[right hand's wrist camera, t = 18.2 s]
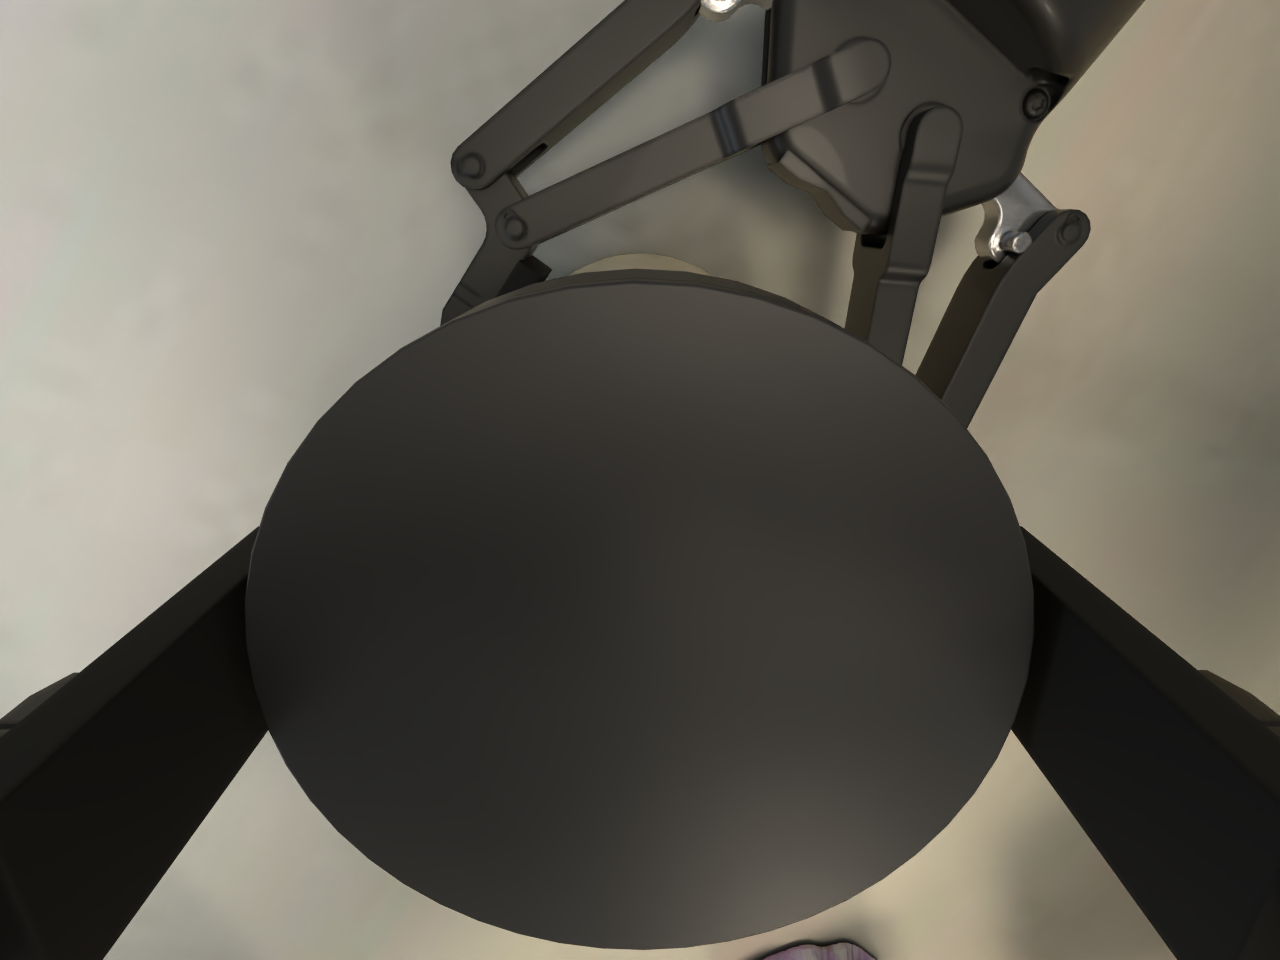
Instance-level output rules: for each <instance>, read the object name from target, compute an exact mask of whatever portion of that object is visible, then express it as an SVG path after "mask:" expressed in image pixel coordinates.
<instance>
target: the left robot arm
mask: <svg viewBox="0 0 1280 960" xmlns="http://www.w3.org/2000/svg"><path fill="white" fill-rule="evenodd" d="M1144 1H1145V0H625V1H624V2H622V3H621V4H620V5H619V6H618V7H617V8H616V9H615V10H613V11H612V12H611V13H610V14H609V15H608V16H607V17H605V18H604V19H603V20H602V21H601V22H600V23H599V24H597V25H596V26H595V27H594V28H593V29H592V30H591V31H589V32H588V33H587V34H586V35H585V36H584V37H583V38H581V39H580V40H579V41H578V42H577V43H576V44H575V45H573V46H572V47H571V48H570V49H569V50H568V51H567V52H565V53H564V54H563V55H562V56H561V57H560V58H559V59H557V60H556V61H555V62H554V63H553V64H552V65H551V66H549V67H548V68H547V69H546V70H545V71H544V72H543V73H541V74H540V75H539V76H538V77H537V78H536V79H535V80H533V81H532V82H531V83H530V84H529V85H528V86H527V87H525V88H524V89H523V90H522V91H521V92H520V93H519V94H518V95H516V96H515V97H514V98H513V99H512V100H511V101H510V102H508V103H507V104H506V105H505V106H504V107H503V108H502V109H500V110H499V111H498V112H497V113H496V114H495V115H494V116H492V117H491V118H490V119H489V120H488V121H487V122H486V123H484V124H483V125H482V126H481V127H480V128H479V129H478V130H476V131H475V132H474V133H473V134H472V135H471V136H470V137H468V138H467V139H466V140H465V141H464V142H463V143H462V144H460V145H459V146H458V147H457V149H456V150H455V151H454V153H453V155H452V159H451V169H452V173H453V175H454V177H455V179H456V181H457V182H458V183H460V184H461V185H462V186H463V187H465V188H466V190H467V191H468V192H469V194H470V195H471V197H472V198H473V199H474V201H475V202H476V204H477V205H478V207H479V208H480V209H481V211H482V213H483V215H484V217H485V220H486V225H487V232H486V238H485V240H484V242H483V244H482V246H481V247H480V249H479V251H478V252H477V254H476V256H475V257H474V259H473V261H472V262H471V264H470V266H469V267H468V269H467V271H466V272H465V274H464V275H463V277H462V279H461V280H460V283H459V284H458V285H457V287H456V289H455V290H454V292H453V294H452V295H451V297H450V299H449V300H448V302H447V303H446V305H445V307H444V308H443V311H442V318H441V325H440V326H442V325H443V324H445V323H447V322H449V321H451V320H453V319H455V318H456V317H458V316H460V315H462V314H464V313H466V312H467V311H469V310H471V309H473V308H475V307H477V306H478V305H480V304H482V303H484V302H486V301H488V300H491V299H494V298H496V297H499V296H502V295H504V294H507V293H510V292H512V291H515V290H518V289H520V288H523V287H526V286H529V285H531V284H534V283H539V282H543V281H545V280H546V278H547V277H548V275H549V273H550V272H551V270H552V269H551V268H549V267H548V266H547V265H545V264H544V263H542V262H541V261H540V260H538V259H537V258H536V257H534V256H533V255H532V254H533V253H534V251H535V249H536V248H537V246H538V245H539V244H540V243H543V242H545V241H547V240H549V239H551V238H554V237H556V236H558V235H560V234H562V233H565V232H567V231H569V230H571V229H574V228H576V227H578V226H580V225H582V224H585V223H587V222H589V221H591V220H594V219H596V218H598V217H600V216H602V215H605V214H607V213H609V212H611V211H614V210H616V209H618V208H620V207H622V206H625V205H627V204H629V203H631V202H633V201H636V200H638V199H640V198H642V197H645V196H647V195H649V194H651V193H653V192H656V191H658V190H660V189H662V188H665V187H667V186H669V185H671V184H673V183H676V182H678V181H680V180H682V179H684V178H687V177H689V176H691V175H693V174H696V173H698V172H700V171H702V170H704V169H707V168H709V167H711V166H713V165H716V164H718V163H720V162H723V161H725V160H727V159H730V158H732V157H734V156H736V155H739V154H741V153H743V152H745V151H747V150H750V149H752V148H754V147H756V146H758V145H761V147H762V150H763V153H764V155H765V157H766V159H767V161H768V162H769V164H768V166H767V168H769V169H770V170H771V171H772V172H773V173H775V174H776V175H777V176H778V177H779V178H781V179H782V180H783V181H784V182H785V183H788V184H790V185H792V186H795V187H797V188H799V189H802V190H804V191H806V192H808V193H810V194H811V195H812V197H813V198H814V200H815V201H816V203H817V204H818V206H819V207H820V209H821V210H822V212H823V213H824V215H825V216H826V217H828V218H829V219H830V220H831V221H832V222H834V223H835V224H836V225H837V226H838V227H840V228H841V229H842V230H845V231H853V232H856V233H857V236H856V242H855V247H854V253H853V270H854V279H853V285H852V290H851V296H850V301H849V307H848V312H847V318H846V324H845V329H846V330H847V331H849V332H851V333H853V334H855V335H856V336H858V337H860V338H862V339H864V340H865V341H867V342H869V343H870V344H872V345H873V346H875V347H876V348H877V349H879V350H880V351H882V352H883V353H884V354H886V355H887V356H889V357H890V358H892V359H893V360H894V361H896V362H897V363H899V364H900V365H901V366H902V363H903V358H904V354H905V349H906V344H907V340H908V335H909V330H910V325H911V321H912V316H913V311H914V307H915V302H916V297H917V293H918V288H919V285H920V283H921V281H922V280H923V279H924V278H925V277H926V275H927V273H928V271H929V268H930V265H931V260H932V256H933V251H934V247H935V242H936V237H937V233H938V228H939V224H940V219H941V217H942V216H945V215H948V214H951V213H954V212H957V211H960V210H963V209H966V208H969V207H972V206H975V205H978V204H982V205H983V208H984V211H985V219H984V223H983V225H982V227H981V229H980V231H979V233H978V234H977V236H976V238H975V248H976V252H977V254H978V256H977V257H976V259H975V260H974V261H973V262H972V264H971V265H970V267H969V268H968V270H967V271H966V273H965V274H964V276H963V278H962V280H961V282H960V283H959V285H958V287H957V289H956V291H955V293H954V295H953V297H952V299H951V302H950V304H949V306H948V308H947V310H946V312H945V314H944V316H943V318H942V321H941V323H940V325H939V327H938V329H937V331H936V333H935V335H934V337H933V339H932V342H931V344H930V346H929V348H928V350H927V352H926V354H925V356H924V358H923V360H922V363H921V365H920V367H919V369H918V371H917V373H916V376H917V377H918V378H919V379H920V380H921V381H922V382H923V383H924V384H925V385H926V386H927V387H928V388H929V389H930V390H931V391H932V392H933V393H934V394H935V395H936V396H937V397H938V398H939V399H941V400H942V401H943V402H944V403H945V404H946V405H947V406H948V407H949V408H950V409H951V410H952V411H953V412H954V413H955V414H956V415H957V417H958V418H959V419H960V421H961V422H962V423H963V425H964V426H965V427H966V429H967V428H968V426H969V424H970V422H971V420H972V418H973V416H974V414H975V412H976V410H977V408H978V406H979V404H980V403H981V401H982V399H983V397H984V395H985V393H986V391H987V389H988V387H989V385H990V383H991V381H992V379H993V377H994V375H995V373H996V372H997V370H998V368H999V366H1000V364H1001V362H1002V360H1003V358H1004V356H1005V354H1006V352H1007V350H1008V348H1009V346H1010V344H1011V343H1012V341H1013V339H1014V337H1015V335H1016V333H1017V331H1018V329H1019V327H1020V325H1021V323H1022V321H1023V319H1024V317H1025V315H1026V314H1027V312H1028V310H1029V308H1030V306H1031V304H1032V302H1033V300H1034V298H1035V296H1036V294H1037V293H1038V292H1039V291H1040V290H1041V289H1042V288H1043V287H1044V286H1045V284H1046V283H1047V282H1048V281H1049V280H1050V279H1051V278H1052V277H1053V276H1054V275H1055V274H1056V273H1057V272H1058V271H1059V270H1060V269H1061V268H1062V267H1063V266H1064V265H1065V264H1066V263H1067V262H1068V261H1069V259H1070V258H1071V257H1072V256H1073V255H1074V254H1075V253H1076V252H1077V251H1078V250H1079V249H1080V248H1081V247H1082V246H1083V245H1084V243H1085V242H1086V240H1087V239H1088V236H1089V233H1090V230H1091V229H1090V220H1089V219H1088V217H1087V215H1086V214H1085V213H1083V212H1082V211H1080V210H1072V209H1063V210H1060V209H1057V208H1056V207H1054V206H1053V205H1052V204H1051V203H1050V202H1049V201H1048V200H1047V199H1046V198H1045V197H1044V195H1043V194H1042V193H1041V192H1040V191H1039V190H1038V189H1037V188H1036V187H1035V186H1034V185H1033V184H1032V183H1031V182H1030V181H1029V180H1028V179H1027V178H1026V177H1025V176H1024V175H1023V174H1022V173H1021V170H1022V167H1023V165H1024V161H1025V158H1026V154H1027V150H1028V147H1029V145H1030V142H1031V140H1032V138H1033V136H1034V134H1035V132H1036V130H1037V128H1038V127H1039V125H1040V124H1041V122H1042V121H1043V120H1044V119H1045V118H1046V116H1047V115H1048V114H1049V113H1050V112H1051V111H1052V110H1053V109H1054V108H1055V107H1056V106H1057V105H1058V103H1059V102H1060V101H1061V100H1062V99H1063V98H1064V97H1065V96H1066V95H1067V93H1068V92H1069V91H1070V90H1071V89H1072V88H1073V86H1074V85H1075V84H1076V83H1077V82H1078V80H1079V79H1080V78H1081V77H1082V76H1083V74H1084V73H1085V72H1086V71H1087V70H1088V68H1089V67H1090V66H1091V65H1092V64H1093V62H1094V61H1095V60H1096V59H1097V58H1098V56H1099V55H1100V54H1101V53H1102V52H1103V50H1104V49H1105V48H1106V47H1107V46H1108V44H1109V43H1110V42H1111V41H1112V40H1113V38H1114V37H1115V36H1116V35H1117V34H1118V32H1119V31H1120V30H1121V29H1122V28H1123V26H1124V25H1125V24H1126V23H1127V22H1128V20H1129V19H1130V18H1131V17H1132V16H1133V14H1134V13H1135V12H1136V11H1137V10H1138V8H1139V7H1140V6H1141V5H1142V4H1143V2H1144ZM748 4H755V5H759V6H761V7H762V8H764V9H765V10H766V14H765V27H764V46H763V64H762V83H761V87H760V88H758V89H756V90H753V91H751V92H749V93H747V94H745V95H743V96H741V97H738V98H736V99H734V100H732V101H730V102H728V103H726V104H724V105H722V106H721V107H719V108H717V109H716V110H714V111H712V112H710V113H708V114H706V115H703V116H701V117H699V118H697V119H695V120H693V121H690V122H688V123H686V124H684V125H682V126H680V127H677V128H675V129H673V130H671V131H669V132H667V133H664V134H662V135H660V136H658V137H656V138H654V139H651V140H649V141H647V142H645V143H643V144H641V145H638V146H636V147H634V148H632V149H630V150H628V151H626V152H623V153H621V154H619V155H617V156H615V157H613V158H610V159H608V160H606V161H604V162H602V163H600V164H597V165H595V166H593V167H591V168H589V169H587V170H584V171H582V172H580V173H578V174H576V175H574V176H571V177H569V178H567V179H565V180H563V181H561V182H558V183H556V184H554V185H552V186H550V187H548V188H545V189H543V190H541V191H539V192H537V193H535V194H533V195H530V196H528V194H527V193H526V191H525V190H524V188H523V187H522V185H521V184H520V182H519V181H518V180H517V178H516V177H517V176H519V175H520V174H521V173H522V172H523V171H525V170H526V169H527V168H528V167H529V166H530V165H532V164H533V163H534V162H535V161H536V160H538V159H539V158H540V157H541V156H542V155H543V154H545V153H546V152H547V151H548V150H549V149H551V148H552V147H553V146H554V145H555V144H557V143H558V142H559V141H560V140H561V139H562V138H564V137H565V136H566V135H567V134H568V133H570V132H571V131H572V130H573V129H574V128H576V127H577V126H578V125H579V124H580V123H581V122H583V121H584V120H585V119H586V118H587V117H589V116H590V115H591V114H592V113H593V112H594V111H596V110H597V109H598V108H599V107H600V106H602V105H603V104H604V103H605V102H606V101H608V100H609V99H610V98H611V97H612V96H613V95H615V94H616V93H617V92H618V91H619V90H621V89H622V88H623V87H624V86H625V85H626V84H628V83H629V82H630V81H631V80H632V79H634V78H635V77H636V76H637V75H638V74H640V73H641V72H642V71H643V70H644V69H645V68H647V67H648V66H649V65H650V64H651V63H653V62H654V61H655V60H656V59H657V58H659V57H660V56H661V55H662V54H663V53H664V52H666V51H667V50H668V49H669V48H670V47H672V46H673V45H674V44H675V43H676V42H677V41H678V40H679V39H680V38H681V37H682V36H683V35H684V34H685V33H686V32H687V30H688V29H689V28H690V27H691V26H692V25H693V23H694V22H695V21H696V19H697V18H698V16H699V15H700V14H701V15H702V16H704V17H705V18H706V19H708V20H710V21H714V22H720V21H724V20H726V19H728V18H729V17H730V16H731V15H732V14H734V13H735V12H736V11H737V10H738V9H739V8H740V7H742V6H744V5H748Z"/></svg>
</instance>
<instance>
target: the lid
mask: <svg viewBox="0 0 1280 960" xmlns="http://www.w3.org/2000/svg"><path fill="white" fill-rule="evenodd" d="M245 627H246V648H247V653H248V659H249V664H250V670H251V676H252V681H253V687H254V690H255V693H256V696H257V699H258V702H259V705H260V708H261V711H262V714H263V716H264V719H265V722H266V725H267V728H268V730H269V732H270V734H271V736H272V738H273V740H274V742H275V744H276V746H277V748H278V750H279V752H280V754H281V756H282V758H283V760H284V762H285V764H286V766H287V767H288V769H289V770H290V771H291V773H292V774H293V776H294V777H295V779H296V780H297V782H298V783H299V785H300V786H301V788H302V789H303V790H304V792H305V793H306V795H307V796H308V798H309V799H310V801H311V802H312V803H313V804H314V805H315V806H316V807H317V808H318V810H319V811H320V812H321V813H322V814H323V815H324V816H325V817H326V819H327V820H328V821H329V822H330V823H331V824H332V825H333V827H334V828H335V829H336V830H337V831H338V832H339V833H340V834H341V835H342V836H344V837H345V838H346V839H347V840H348V841H349V842H350V843H351V844H353V845H354V846H355V847H356V848H357V849H358V850H359V851H360V852H362V853H363V854H364V855H365V856H366V857H367V858H368V859H369V860H371V861H372V862H374V863H375V864H377V865H378V866H379V867H381V868H382V869H384V870H385V871H386V872H388V873H389V874H391V875H392V876H393V877H395V878H396V879H398V880H399V881H400V882H402V883H403V884H405V885H407V886H409V887H410V888H412V889H414V890H416V891H418V892H419V893H421V894H423V895H425V896H427V897H428V898H430V899H432V900H434V901H435V902H437V903H439V904H441V905H443V906H446V907H448V908H450V909H453V910H455V911H457V912H459V913H462V914H464V915H466V916H469V917H471V918H473V919H476V920H478V921H481V922H484V923H487V924H490V925H493V926H496V927H499V928H502V929H505V930H509V931H512V932H515V933H518V934H522V935H526V936H531V937H535V938H540V939H544V940H549V941H553V942H558V943H564V944H572V945H580V946H588V947H595V948H608V949H635V950H650V949H668V948H686V947H693V946H700V945H707V944H714V943H721V942H727V941H732V940H736V939H740V938H744V937H748V936H752V935H756V934H761V933H765V932H769V931H772V930H775V929H777V928H780V927H783V926H786V925H789V924H792V923H795V922H798V921H801V920H804V919H807V918H809V917H811V916H814V915H816V914H818V913H820V912H822V911H824V910H827V909H829V908H831V907H833V906H835V905H838V904H840V903H842V902H844V901H846V900H848V899H850V898H851V897H853V896H855V895H857V894H858V893H860V892H862V891H863V890H865V889H867V888H869V887H870V886H872V885H874V884H875V883H877V882H879V881H880V880H882V879H884V878H885V877H886V876H888V875H889V874H890V873H892V872H893V871H894V870H896V869H897V868H899V867H900V866H901V865H903V864H904V863H905V862H907V861H908V860H909V859H911V858H912V857H913V856H915V855H916V854H917V853H918V852H919V851H920V850H922V849H923V848H924V847H925V846H926V845H927V844H928V843H929V842H930V841H931V840H932V839H933V838H934V837H935V836H937V835H938V834H939V833H940V832H941V831H942V830H943V829H944V828H945V827H946V826H947V825H948V824H949V823H950V822H951V820H952V819H953V818H954V817H955V816H956V815H957V813H958V812H959V811H960V810H961V809H962V807H963V806H964V805H965V804H966V803H967V802H968V800H969V799H970V798H971V797H972V796H973V794H974V793H975V792H976V790H977V788H978V787H979V785H980V784H981V782H982V781H983V779H984V778H985V776H986V775H987V773H988V772H989V770H990V768H991V767H992V765H993V764H994V762H995V761H996V759H997V757H998V755H999V753H1000V751H1001V749H1002V747H1003V745H1004V743H1005V740H1006V738H1007V736H1008V734H1009V732H1010V730H1011V728H1012V726H1013V723H1014V721H1015V719H1016V715H1017V712H1018V709H1019V706H1020V702H1021V699H1022V696H1023V693H1024V689H1025V686H1026V683H1027V680H1028V674H1029V667H1030V660H1031V653H1032V647H1033V640H1034V590H1033V584H1032V578H1031V572H1030V566H1029V560H1028V554H1027V549H1026V544H1025V541H1024V538H1023V535H1022V532H1021V529H1020V526H1019V523H1018V520H1017V517H1016V514H1015V511H1014V509H1013V506H1012V503H1011V500H1010V498H1009V496H1008V494H1007V492H1006V490H1005V488H1004V487H1003V485H1002V483H1001V481H1000V479H999V477H998V475H997V473H996V472H995V470H994V468H993V466H992V464H991V462H990V460H989V458H988V457H987V455H986V454H985V452H984V451H983V450H982V448H981V447H980V446H979V444H978V443H977V442H976V440H975V439H974V438H973V436H972V435H971V434H970V432H969V431H968V430H967V429H966V427H965V426H964V425H963V423H962V422H961V421H960V419H959V418H958V417H957V415H956V414H955V413H954V412H953V411H952V410H951V409H950V408H949V407H948V406H947V405H946V404H945V403H944V402H943V401H942V400H941V399H939V398H938V397H937V396H936V395H935V394H934V393H933V392H932V391H931V390H930V389H929V388H928V387H927V386H926V385H925V384H924V383H923V382H922V381H921V380H920V379H919V378H918V377H917V376H916V375H914V374H913V373H911V372H910V371H908V370H907V369H906V368H904V367H903V366H901V365H900V364H899V363H897V362H896V361H894V360H893V359H892V358H890V357H889V356H887V355H886V354H884V353H883V352H882V351H880V350H879V349H877V348H876V347H875V346H873V345H872V344H870V343H869V342H867V341H865V340H864V339H862V338H860V337H858V336H856V335H855V334H853V333H851V332H849V331H847V330H846V329H844V328H842V327H840V326H838V325H837V324H835V323H833V322H831V321H830V320H828V319H826V318H824V317H822V316H820V315H818V314H816V313H814V312H812V311H810V310H808V309H806V308H804V307H802V306H800V305H798V304H796V303H794V302H792V301H790V300H788V299H786V298H784V297H782V296H779V295H776V294H773V293H770V292H767V291H764V290H761V289H758V288H755V287H752V286H750V285H747V284H744V283H741V282H738V281H733V280H728V279H723V278H718V277H713V276H708V275H703V274H698V273H692V272H687V271H671V270H653V269H636V268H634V269H622V270H610V271H597V272H585V273H579V274H575V275H570V276H566V277H561V278H557V279H552V280H548V281H543V282H539V283H534V284H531V285H529V286H526V287H523V288H520V289H518V290H515V291H512V292H510V293H507V294H504V295H502V296H499V297H496V298H494V299H491V300H488V301H486V302H484V303H482V304H480V305H478V306H477V307H475V308H473V309H471V310H469V311H467V312H466V313H464V314H462V315H460V316H458V317H456V318H455V319H453V320H451V321H449V322H447V323H445V324H443V325H442V326H440V327H438V328H436V329H435V330H433V331H431V332H429V333H427V334H426V335H424V336H422V337H420V338H418V339H417V340H415V341H413V342H411V343H410V344H408V345H406V346H404V347H402V348H401V349H399V350H398V351H397V352H395V353H394V354H393V355H391V356H390V357H389V358H387V359H386V360H385V361H383V362H382V363H381V364H379V365H378V366H377V367H375V368H374V369H373V370H371V371H370V372H369V373H367V374H366V375H365V376H363V377H362V378H361V379H359V380H358V381H357V382H355V383H354V384H353V385H352V386H351V388H350V389H349V390H348V391H347V392H346V393H345V394H344V395H343V396H342V397H341V398H340V399H339V400H338V401H337V402H336V403H335V404H334V405H333V406H332V407H331V408H330V409H329V410H328V411H327V412H326V413H325V414H324V415H323V416H322V417H321V418H320V419H319V420H318V421H317V423H316V424H315V425H314V427H313V428H312V430H311V431H310V432H309V434H308V435H307V437H306V438H305V439H304V441H303V442H302V444H301V445H300V446H299V448H298V449H297V451H296V452H295V453H294V455H293V456H292V458H291V459H290V460H289V462H288V463H287V465H286V467H285V469H284V471H283V473H282V475H281V477H280V479H279V481H278V483H277V485H276V487H275V489H274V491H273V493H272V495H271V497H270V499H269V501H268V503H267V505H266V507H265V511H264V514H263V517H262V520H261V524H260V527H259V530H258V533H257V537H256V540H255V543H254V546H253V549H252V553H251V559H250V567H249V574H248V581H247V588H246V595H245Z"/></svg>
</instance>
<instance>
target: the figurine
mask: <svg viewBox="0 0 1280 960" xmlns="http://www.w3.org/2000/svg"><path fill="white" fill-rule="evenodd" d="M763 960H875V959H874V958H871V956H869V955H868V954H867V953H866V952H865V951H863V949H860V947H857V946H855V945H853V944H849V943H838V944H833V945H829V946H827V947H820V946H816V945H800V946H799V947H792V948H790V949H787V950H786V951H781V952H779V953H777V954H774V955H771V956H769V957H766V958H765V959H763Z"/></svg>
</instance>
